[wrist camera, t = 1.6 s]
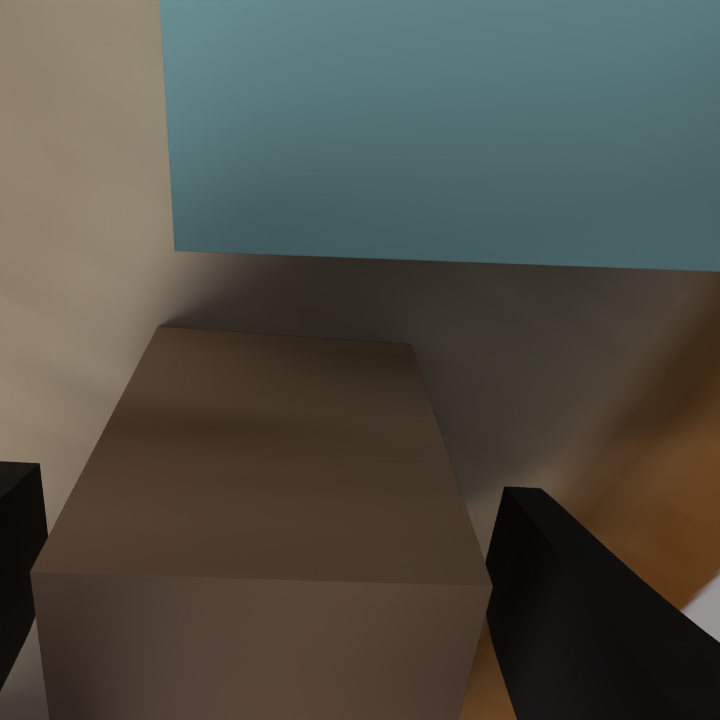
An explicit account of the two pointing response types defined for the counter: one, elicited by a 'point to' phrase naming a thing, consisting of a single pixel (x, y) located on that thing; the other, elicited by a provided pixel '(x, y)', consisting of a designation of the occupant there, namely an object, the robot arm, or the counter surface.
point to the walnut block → (263, 542)
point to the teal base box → (447, 130)
